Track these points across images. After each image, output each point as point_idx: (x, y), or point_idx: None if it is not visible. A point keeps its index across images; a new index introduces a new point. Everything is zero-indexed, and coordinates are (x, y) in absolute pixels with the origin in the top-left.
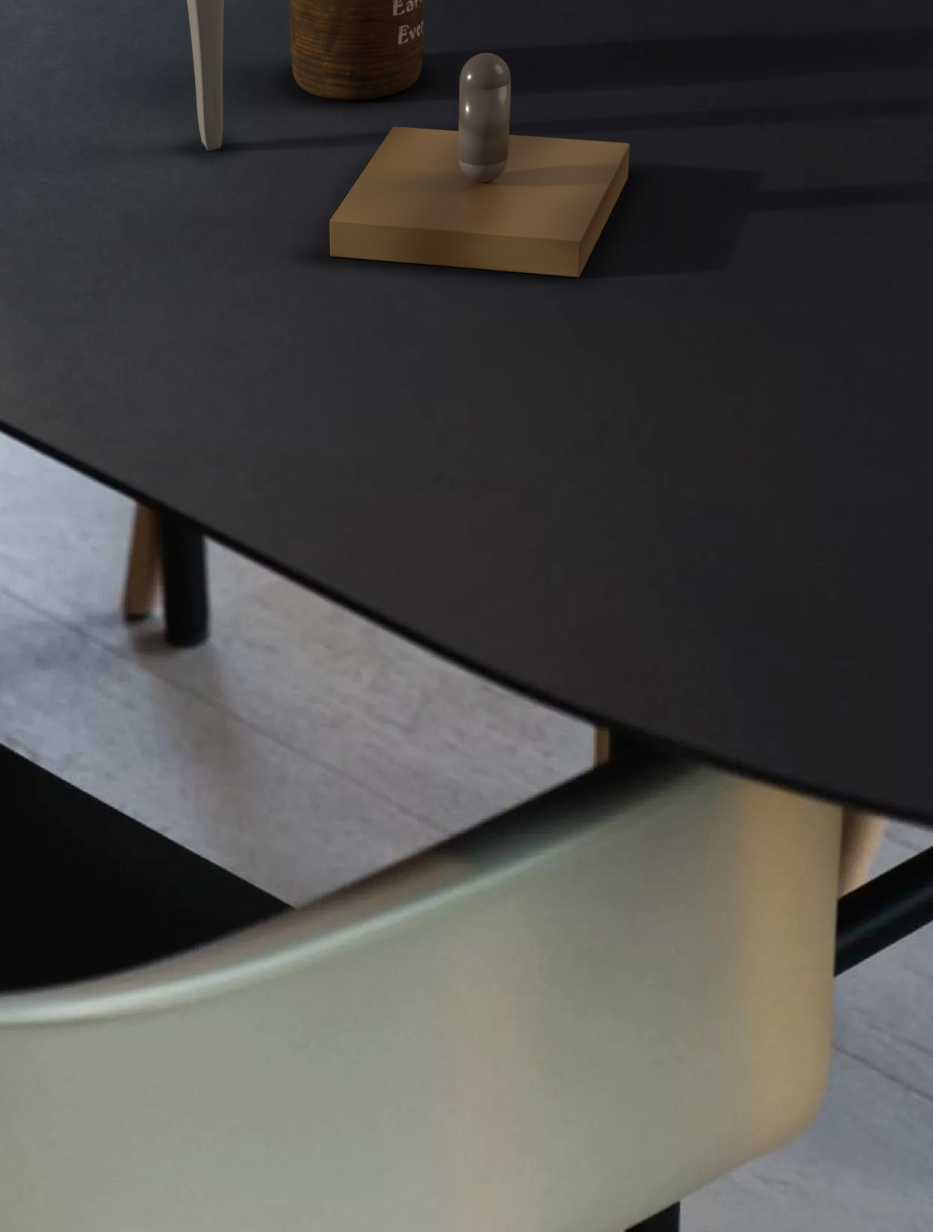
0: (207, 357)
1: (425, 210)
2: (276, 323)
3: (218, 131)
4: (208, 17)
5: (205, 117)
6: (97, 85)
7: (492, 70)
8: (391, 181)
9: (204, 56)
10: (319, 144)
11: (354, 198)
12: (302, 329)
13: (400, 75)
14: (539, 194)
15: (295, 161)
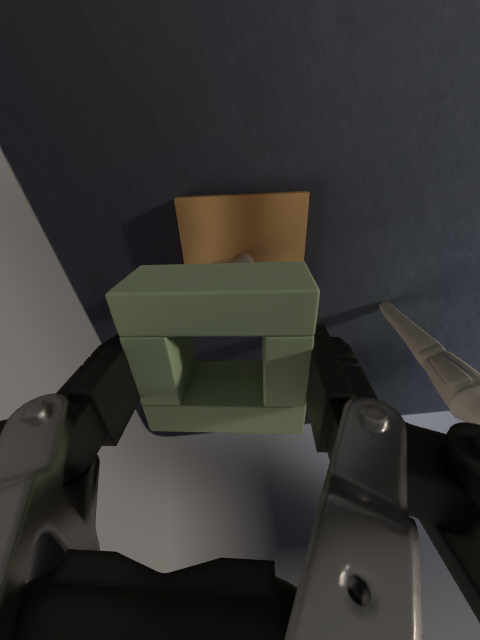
0: (356, 3)
1: (261, 217)
2: (320, 82)
3: (382, 306)
4: (414, 331)
5: (392, 306)
6: None
7: None
8: (286, 251)
9: (406, 320)
10: (333, 317)
11: (301, 225)
12: (303, 77)
13: None
14: (211, 251)
15: (341, 298)
